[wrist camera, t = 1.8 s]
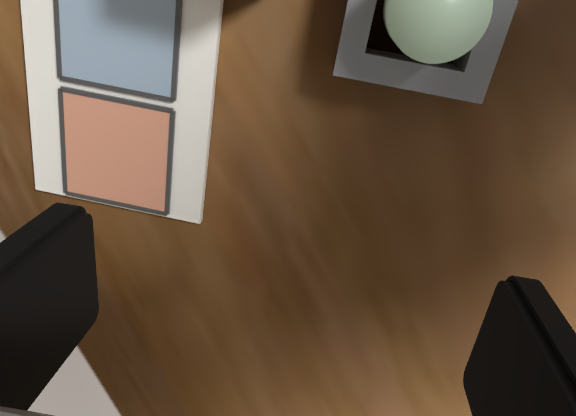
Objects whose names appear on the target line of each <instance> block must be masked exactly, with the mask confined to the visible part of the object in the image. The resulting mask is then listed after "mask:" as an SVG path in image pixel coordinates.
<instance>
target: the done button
mask: <svg viewBox="0 0 576 416" xmlns="http://www.w3.org/2000/svg"><path fill="white" fill-rule="evenodd" d="M492 10H493V0H384V4H383V20H384V25H385V27H386V30H387V32H388V34H389V36H390V37H391V39H392V40H393V41H394V42H395V44H396V45H397V46H398V47H399V49H400V50H401V51H402V52H403V53H405V54H406V55H407V56H409V57H410V58H412V59H414V60H416V61H419V62H422V63H428V64H440V63H446V62H449V61H452V60H455V59H457V58H459V57H461V56H463V55H464V54H465V53H467V52H468V51H470V50H471V49H472V48H473V47H474V46H475V45H476V44H477V43H478V42H479V40H480V39H481V38H482V36H483V35H484V33H485V31H486V29H487V27H488V25H489V22H490V19H491V15H492Z"/></svg>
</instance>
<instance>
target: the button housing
mask: <svg viewBox="0 0 576 416" xmlns="http://www.w3.org/2000/svg"><path fill="white" fill-rule="evenodd" d="M518 1H519V0H493V10H492V15H491V19H490V22H489V25H488V27H487V29H486V31H485V33H484V35H483V36H482V38H481V39H480V40H479V42H478V43H477V44H476V45H475V46H474V47H473V48H472V49H471V50H470V51H468V52H467V53H465V54H464V55H463V56H461V57H459V58H457V59H455V60H454V63H453V64H450V63H440V64H428V63H422V62H419V61H416V60H414V59H412V58H410V57H409V56H407V55H403V54H398V53H393V52H387V51H382V50H377V49H372V48H366V46H367V41H368V37H369V33H370V28H371V24H372V19H373V15H374V11H375V6H376V2H377V0H348V3H347V8H346V13H345V17H344V22H343V27H342V32H341V37H340V42H339V47H338V52H337V57H336V61H335V66H334V71H333V76H338V77H343V78H349V79H354V80H359V81H364V82H369V83H374V84H380V85H385V86H390V87H395V88H400V89H405V90H411V91H416V92H421V93H426V94H431V95H436V96H441V97H447V98H452V99H457V100H462V101H467V102H472V103H478V104H482V103H483V100H484V98H485V95H486V92H487V89H488V86H489V83H490V81H491V78H492V75H493V72H494V69H495V66H496V64H497V61H498V58H499V55H500V52H501V49H502V47H503V44H504V41H505V38H506V35H507V32H508V30H509V27H510V24H511V21H512V18H513V15H514V13H515V10H516V7H517V4H518Z"/></svg>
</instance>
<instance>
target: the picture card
mask: <svg viewBox="0 0 576 416" xmlns="http://www.w3.org/2000/svg"><path fill="white" fill-rule="evenodd" d="M223 2H224V0H20V3H21V15H22V27H23V40H24V52H25V65H26V77H27V89H28V102H29V114H30V127H31V139H32V152H33V164H34V176H35V189H36V190H40V191H45V192H50V193H54V194H59V195H64V196H69V197H73V198H78V199H83V200H88V201H92V202H97V203H102V204H107V205H112V206H116V207H121V208H126V209H131V210H135V211H140V212H145V213H150V214H154V215H159V216H164V217H169V218H174V219H178V220H183V221H188V222H193V223H197V224H200V223H201V222H202V220H203V209H204V199H205V189H206V178H207V168H208V158H209V147H210V137H211V126H212V116H213V106H214V95H215V85H216V74H217V64H218V54H219V43H220V33H221V23H222V12H223Z"/></svg>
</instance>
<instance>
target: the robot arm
mask: <svg viewBox="0 0 576 416" xmlns="http://www.w3.org/2000/svg"><path fill="white" fill-rule="evenodd" d="M98 310H99V305H98V290H97V276H96V261H95V247H94V232H93V220H92V216H91V215H90V214H87V213H86V211H85V209H84V208H83V207H82V206H76V205H70V204H63V203H55V204H53V205H52V206H51V207H49V208H48V209H46V210H45V211H44V212H42V213H41V214H39V215H38V216H37V217H35V218H34V219H32V220H31V221H30V222H28V223H27V224H26V225H24V226H23V227H21V228H20V229H19V230H17V231H16V232H14V233H13V234H12V235H10V236H9V237H8V238H6V239H5V240H3V241H2V242H1V243H0V416H53V415H48V414H42V413H37V412H31V411H27V410H28V409H29V407H30V406H31V405H32V403H33V402H34V401H35V399H36V398H37V397H38V396H39V394H40V393H41V392H42V390H43V389H44V388H45V386H46V385H47V384H48V382H49V381H50V380H51V378H52V377H53V376H54V375H55V373H56V372H57V371H58V369H59V368H60V367H61V365H62V364H63V363H64V361H65V360H66V359H67V358H68V356H69V355H70V354H71V352H72V351H73V350H74V348H75V347H76V346H77V345H78V343H79V342H80V341H81V339H82V338H83V337H84V335H85V334H86V333H87V331H88V330H89V329H90V328H91V326H92V325H93V324H94V322H95V320H96V318H97V315H98ZM463 383H464V389H465V392H466V396H467V399H468V402H469V406H470V409H471V412H472V416H576V333H575V332H574V330H573V329H572V327H571V326H570V324H569V323H568V322H567V320H566V319H565V317H564V316H563V314H562V313H561V311H560V310H559V308H558V307H557V305H556V304H555V302H554V301H553V299H552V298H551V296H550V295H549V293H548V292H547V290H546V289H545V287H544V286H543V284H542V283H541V282H540V281H539V280H536V279H529V278H523V277H517V276H510V277H508V278H507V279H506V281H499V283H498V284H497V286H496V288H495V291H494V294H493V296H492V299H491V302H490V304H489V307H488V310H487V312H486V315H485V318H484V320H483V323H482V326H481V328H480V331H479V334H478V336H477V339H476V342H475V344H474V347H473V349H472V352H471V355H470V357H469V360H468V363H467V365H466V368H465V371H464V377H463Z"/></svg>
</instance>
